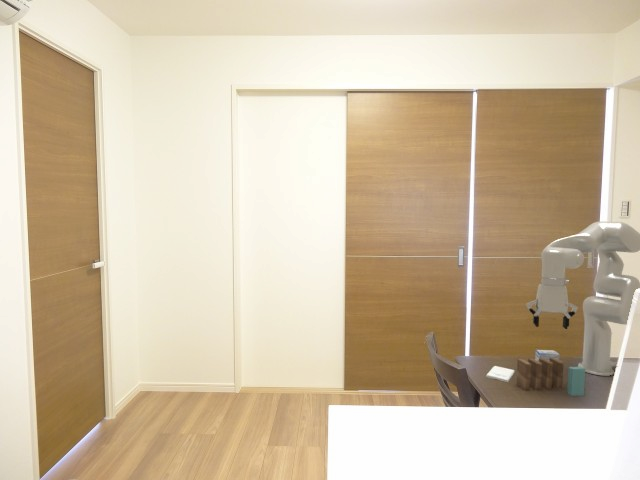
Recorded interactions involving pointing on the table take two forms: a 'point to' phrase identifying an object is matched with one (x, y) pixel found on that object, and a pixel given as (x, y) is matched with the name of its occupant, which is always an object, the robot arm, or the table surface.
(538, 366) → the brown wooden block
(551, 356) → the medicine box
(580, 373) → the tile
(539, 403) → the table surface
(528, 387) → the tile
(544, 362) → the brown flat rectangular block
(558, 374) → the tile
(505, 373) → the external hard drive
